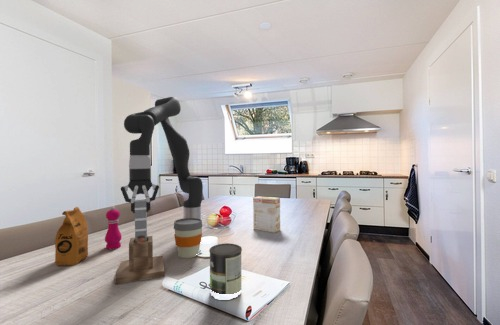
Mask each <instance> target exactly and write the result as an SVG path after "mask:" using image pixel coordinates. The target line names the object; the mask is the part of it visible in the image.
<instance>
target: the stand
mask: <svg viewBox="0 0 500 325" xmlns="http://www.w3.org/2000/svg"><path fill="white" fill-rule="evenodd" d="M153 239H154V238H153V235H147V241H144V237H142V238H137V242H135V237H130V239H129V243H128V259H127V260H121V261H120V263H119V265H118V269H117V272H116V275H115V279H114V280H115V282H114V283H115V285H118V284H125V283H132V282H137V281H143V280H144V281H145V280H149V279H156V278H162V277H165V263H164V255H157V256H154V252H153V250H154V248H153V247H154V246H153V244H154V243H153V241H154V240H153Z"/></svg>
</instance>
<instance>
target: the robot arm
mask: <svg viewBox="0 0 500 325" xmlns="http://www.w3.org/2000/svg"><path fill="white" fill-rule="evenodd" d="M180 113H181V104H180V101H179V99H178V98H177V97H175V96H168V97H164V98H163V97H162V98H160V99H159V98H158V99H156V101H155V102H154V106H152V107H150V108H148V109H146V110H143V111H141V112H136V113H131V114H128V116H126V118H125V119H124V121H123V128H124V129H125V131H126V132H128V133H130V134H133V135H134V134H135V135H137V134H140V136H139V137H138V138H136V139H133V140H130V142H129V160H128V161H129V162H128V170H129V174H128V176H129V178H128V179H129V181H128V183H127V184H126V185H124V186H120V191H121V193H122V197H123V198H124V200H125V202H126V203H129V204H130V211H131V213H133V214H135V200H136V197H137V195H144V197H145V199H146V200H147V202H146V212H147V213H149V211H151V202H153V201H156V198H157V194H158V192H159V188H160V185H159V184H154V183H153V182H152V170H151V169H152V164H151V163H152V161H151V154H150V153H151V152H150V151H151V150H150V149H151V148H150V147H151V141H152V137H153V135H154V134H153V133H154V130H155V126H156V125H158V124H161V127H162V129H163V132H164V136H165V138H166V141H167V144H168V148H169V151H170V155H171V157H172V160H173V163H174V168H175V170H176V174H177V180H178V183H179V188H180V191H181V192H183V193H185V194H188V198H187V199H185V200H184V201H183V203H182V204H183V209H182V210H183V218H182V219H184V218H198V219H201V220H202V201H203V190H204V189H203V188H204V186H203V181H202V179H201V178H200V177H198V176H192V175H191V174H190V171H189V159H190V149H189V145H188V142H187V139H186V138H185V137H184V135H182V134H181V133H180V132H179V131H178V130H177V129H176V128H175V127H174V126H173V124H172V123H171V121H170V119H169V118H171V117H175V116H177V115H179V114H180ZM151 188H152V190H153V193H152V196H151V197H150V195H149V191H150V189H151ZM129 190H130V191H131V193H132V194H131V197H130V196H129V194H128V191H129ZM201 232H202V233H203V227H202V228H201ZM201 237H202V238H203V235H202V236H201Z"/></svg>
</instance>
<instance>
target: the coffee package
mask: <svg viewBox="0 0 500 325" xmlns="http://www.w3.org/2000/svg"><path fill="white" fill-rule="evenodd" d="M61 214H62V216H65V217H64V219H63V222H62V224H61V225H60V226H59V228H58V230H57V231H56V233H55V237H54V238H55V239H54V245H55V246H54V248H55V250H54V251H55V255H54V256H55V257H54V258H55V259H54V260H55V261H54V263H55V264H56V266H58V267H60V266H74V265H78V264H79V263H80V262H81V261H84V260H86V258H87V256H88V255H89V230H88V229H89V228H88V223H87V219H86V217H85V215H84V214H83V212H82V211H81V210H80V208H79V206H75V207H74V208H73V209H72V210H65V211H63V212H62V213H61Z"/></svg>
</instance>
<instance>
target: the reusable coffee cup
mask: <svg viewBox="0 0 500 325" xmlns="http://www.w3.org/2000/svg"><path fill="white" fill-rule="evenodd" d="M202 221H203V220H202V218H201V219H198V218H184V219H183V218H179V219H175V220H174V223H173V230H174V242H175V243H174V244H175V246H176V248H177V255H178V257H179V258H182V259H190V258H194V257H196V256H195V255H196V254H198V253H199V252H200V246H201V245H200V244H201V243H202V239H201V236H202V237H203V231H202V232H201V228H202V229H203V222H202ZM200 242H201V243H200ZM198 255H199V254H198Z"/></svg>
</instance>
